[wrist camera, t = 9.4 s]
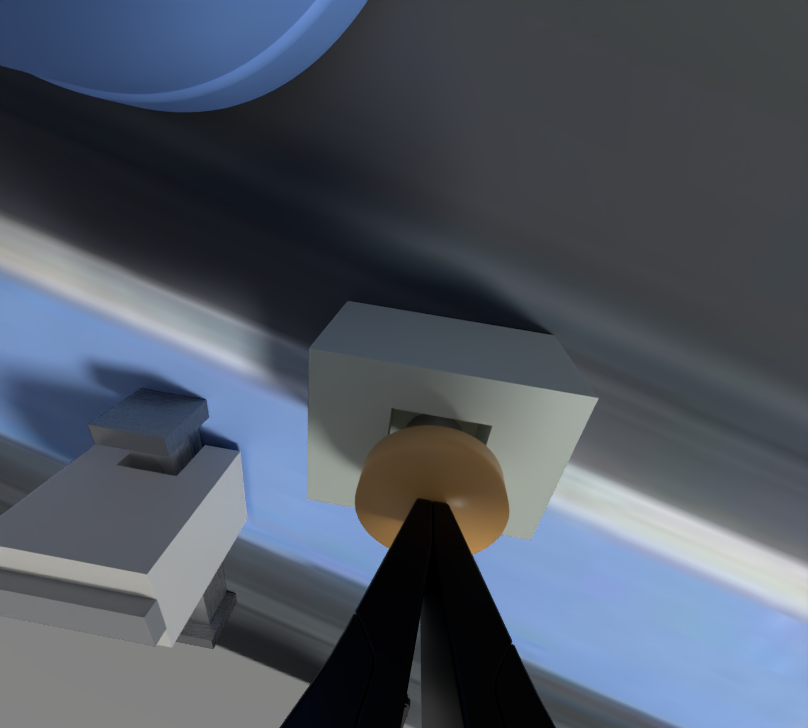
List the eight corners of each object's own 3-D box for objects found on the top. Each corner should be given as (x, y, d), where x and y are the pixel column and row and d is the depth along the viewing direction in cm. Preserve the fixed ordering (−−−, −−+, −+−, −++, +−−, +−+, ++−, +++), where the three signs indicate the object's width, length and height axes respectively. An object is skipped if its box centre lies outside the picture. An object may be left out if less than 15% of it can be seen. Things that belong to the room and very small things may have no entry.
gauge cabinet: (510, 454, 16) (530, 540, 12) (333, 422, 16) (298, 497, 13) (554, 335, 13) (598, 398, 10) (340, 299, 14) (298, 346, 10)
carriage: (248, 519, 20) (162, 665, 14) (136, 498, 20) (4, 634, 14) (241, 451, 17) (134, 593, 11) (115, 428, 18) (-55, 556, 12)
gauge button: (478, 490, 13) (487, 571, 10) (369, 470, 13) (349, 545, 10) (509, 398, 11) (530, 468, 8) (381, 375, 11) (361, 438, 8)
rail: (236, 601, 25) (213, 649, 22) (192, 593, 25) (163, 639, 22) (206, 400, 17) (164, 438, 14) (140, 388, 17) (87, 424, 14)
